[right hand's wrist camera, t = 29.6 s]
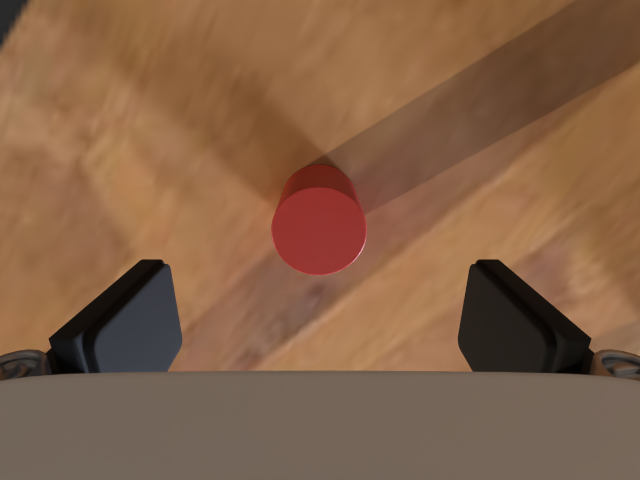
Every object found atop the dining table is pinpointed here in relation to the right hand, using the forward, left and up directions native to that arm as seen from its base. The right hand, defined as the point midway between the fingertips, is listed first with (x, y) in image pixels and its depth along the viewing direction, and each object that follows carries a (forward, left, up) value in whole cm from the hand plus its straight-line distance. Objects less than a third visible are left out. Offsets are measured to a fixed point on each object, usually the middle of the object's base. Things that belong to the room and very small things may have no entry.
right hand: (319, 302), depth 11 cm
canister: (+1, 0, -9) cm, 9 cm away
